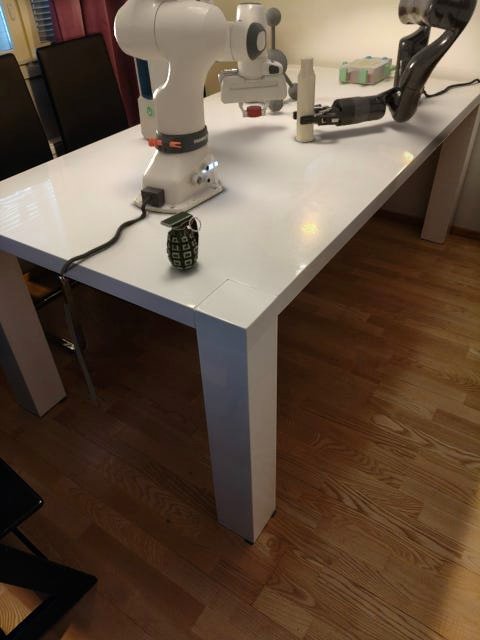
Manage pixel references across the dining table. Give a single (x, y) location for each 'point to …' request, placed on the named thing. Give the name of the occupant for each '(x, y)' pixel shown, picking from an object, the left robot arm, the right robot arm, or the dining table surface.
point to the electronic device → (149, 92)
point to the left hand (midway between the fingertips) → (254, 116)
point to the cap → (254, 111)
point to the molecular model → (278, 58)
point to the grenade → (182, 240)
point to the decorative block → (366, 70)
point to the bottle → (305, 98)
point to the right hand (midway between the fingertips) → (297, 118)
